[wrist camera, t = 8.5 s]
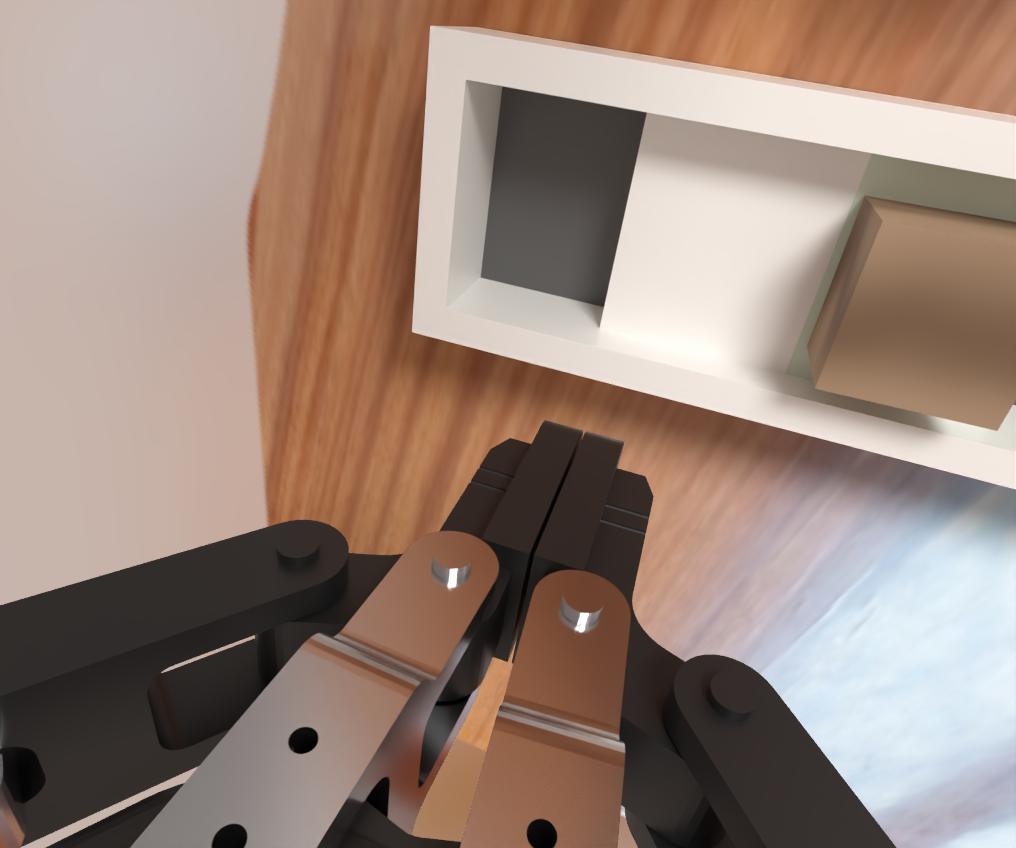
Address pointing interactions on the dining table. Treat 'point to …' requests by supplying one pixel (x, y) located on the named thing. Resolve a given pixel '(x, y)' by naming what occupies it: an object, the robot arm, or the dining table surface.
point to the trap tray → (682, 225)
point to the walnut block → (922, 314)
